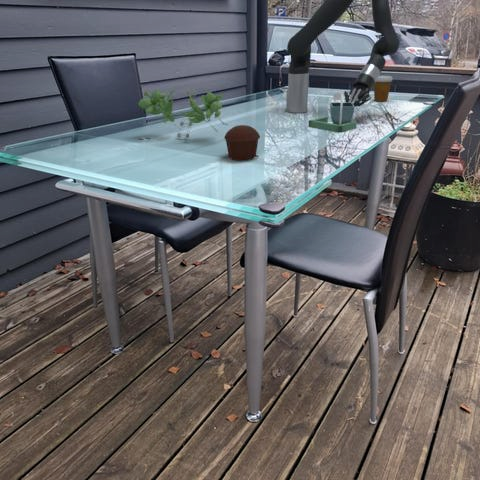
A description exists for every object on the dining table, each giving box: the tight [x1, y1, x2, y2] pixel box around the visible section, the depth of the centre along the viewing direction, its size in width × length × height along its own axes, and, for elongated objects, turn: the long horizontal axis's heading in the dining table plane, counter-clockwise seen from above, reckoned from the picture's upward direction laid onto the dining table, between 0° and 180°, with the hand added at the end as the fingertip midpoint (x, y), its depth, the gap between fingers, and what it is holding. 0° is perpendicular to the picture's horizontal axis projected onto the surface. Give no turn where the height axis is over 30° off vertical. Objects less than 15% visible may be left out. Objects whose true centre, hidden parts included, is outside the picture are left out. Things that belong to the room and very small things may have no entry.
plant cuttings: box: [137, 88, 229, 141], centre depth 176 cm, size 35×17×22 cm
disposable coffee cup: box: [373, 75, 394, 103], centre depth 234 cm, size 10×10×12 cm
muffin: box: [223, 124, 261, 162], centre depth 150 cm, size 12×11×10 cm
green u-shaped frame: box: [307, 92, 358, 133], centre depth 183 cm, size 16×10×14 cm, turn 41°
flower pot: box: [329, 102, 356, 125], centre depth 185 cm, size 9×9×9 cm
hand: (347, 112), depth 190 cm, fingers closed
